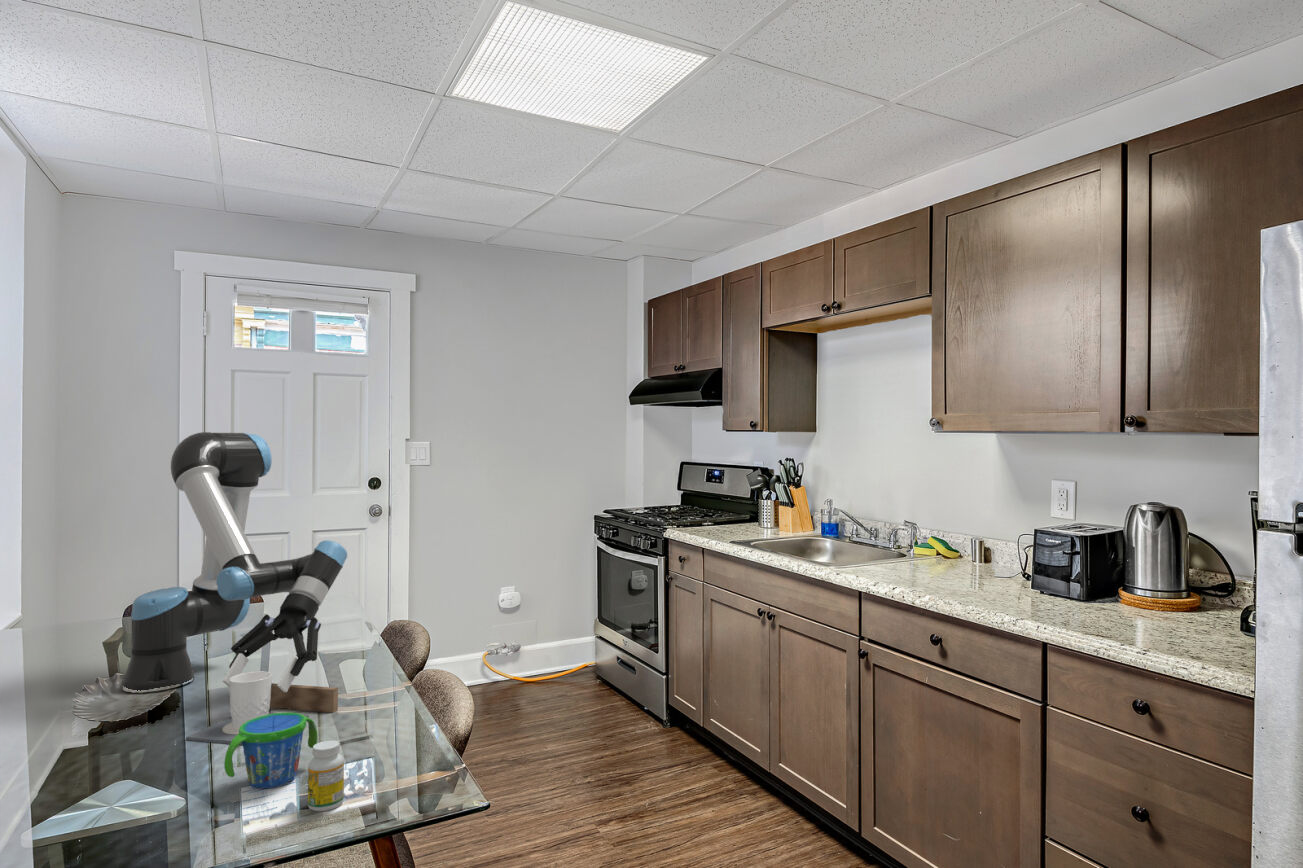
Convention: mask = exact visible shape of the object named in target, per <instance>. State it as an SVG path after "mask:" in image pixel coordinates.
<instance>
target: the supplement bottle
mask: <svg viewBox="0 0 1303 868" xmlns="http://www.w3.org/2000/svg"><path fill="white" fill-rule="evenodd" d="M340 747H341V746H340V742H339V741H337V740H324V741H321V742H317V744H315V745H314V746H313V748H312V756H313V758H311V759H310V760H309V762H308V765H307V767H308V768H307V775H308V776H307V807H308V809H309V810H311V811H313V812H327V811H331V810H334V809H336V808H338V807H340V806H341V805H342V804H343V803H344V800H345V798H344V797H345V792H344V791H345V789H344V788H345V786H344V785H345V780H344V779H345V771H344V770H345V759H344V757H343V755H342V754H340V751H341V749H340Z"/></svg>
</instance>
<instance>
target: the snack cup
mask: <svg viewBox="0 0 1303 868" xmlns="http://www.w3.org/2000/svg"><path fill="white" fill-rule="evenodd" d="M274 713H275V714H269V715H264V716H260V717H257V718H254V719H251V720H249V721H247V722H245V723H244V724H242V725H241V726H240V728H239V734H238V735H237V736H236V737H235V738H234V739H232V742H231V743H230V744H228V747H227V749H226V750H227V751H226V753H225V756H224V763H223V764H224V765H223V768H224V770H225V773H226V776H227V777H229V778H234V777H235V771H234V762H233V756H234V752H235V751H236V750H237V748H238V747H239V746H240V745H239V744H240V743H242V745H241V746H242V749H243V755H244V763H245V770H246V774H247V781H248V783H249V784H250V787H252V788H258V789H271V788H272V789H273V788H276V787H280V786H283V785H284V784H286V783H289V782H290V781H291V782H292V781H294V779H295V778H296V776H297V773H298V769H299V764H300V757H301V752H302V751H301V750H302V743H303V734H304V730H305V729H306V727H307V723H308V738H307V739H308V740H307V746H308V747H309V748H310V749H313V746H314V745H315V744H317V743H318V741H319V740H318V739H319V738H318V728H317V725H316V723H315V721H314V720H313V719H312V718H310V717H309V718H308V717H305V716H304V715H305V714H302V713H298V712H290V711H289V712H274Z"/></svg>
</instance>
